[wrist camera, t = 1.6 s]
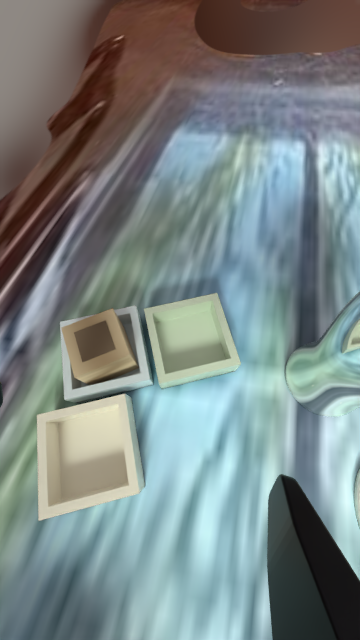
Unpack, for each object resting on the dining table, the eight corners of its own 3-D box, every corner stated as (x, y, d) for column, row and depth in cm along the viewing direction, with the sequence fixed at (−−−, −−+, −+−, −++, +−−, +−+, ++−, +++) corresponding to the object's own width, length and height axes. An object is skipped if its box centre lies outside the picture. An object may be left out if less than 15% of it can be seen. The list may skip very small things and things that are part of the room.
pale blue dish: (77, 403, 22) (64, 399, 19) (71, 332, 24) (60, 321, 22) (153, 384, 22) (149, 379, 20) (140, 317, 24) (135, 305, 22)
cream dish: (56, 510, 19) (38, 520, 16) (53, 417, 21) (36, 414, 19) (145, 486, 19) (139, 493, 17) (131, 397, 22) (124, 393, 19)
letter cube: (93, 387, 22) (73, 377, 18) (81, 344, 23) (60, 327, 19) (139, 367, 22) (129, 354, 18) (124, 327, 24) (112, 307, 20)
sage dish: (161, 389, 22) (159, 383, 20) (147, 320, 24) (143, 308, 22) (235, 371, 22) (241, 363, 20) (214, 305, 25) (217, 292, 23)
